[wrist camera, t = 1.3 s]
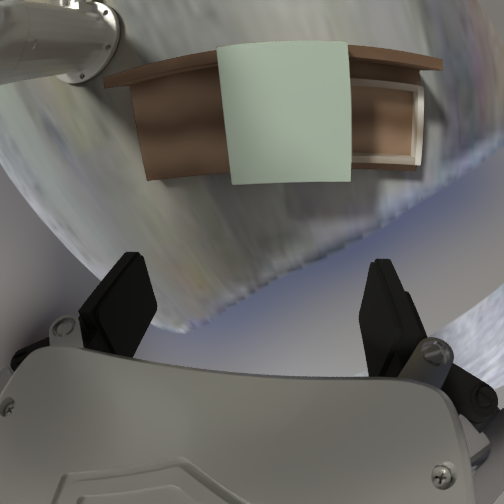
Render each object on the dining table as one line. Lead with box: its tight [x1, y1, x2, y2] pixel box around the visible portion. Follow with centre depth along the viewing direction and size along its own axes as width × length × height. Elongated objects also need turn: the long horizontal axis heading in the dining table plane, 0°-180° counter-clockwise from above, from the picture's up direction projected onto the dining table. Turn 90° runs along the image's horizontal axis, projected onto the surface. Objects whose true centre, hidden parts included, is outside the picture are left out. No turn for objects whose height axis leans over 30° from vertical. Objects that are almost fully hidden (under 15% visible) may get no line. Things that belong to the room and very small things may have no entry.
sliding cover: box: [216, 41, 351, 185], centre depth 23 cm, size 13×11×2 cm
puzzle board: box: [103, 45, 443, 181], centre depth 28 cm, size 14×34×8 cm, turn 95°
